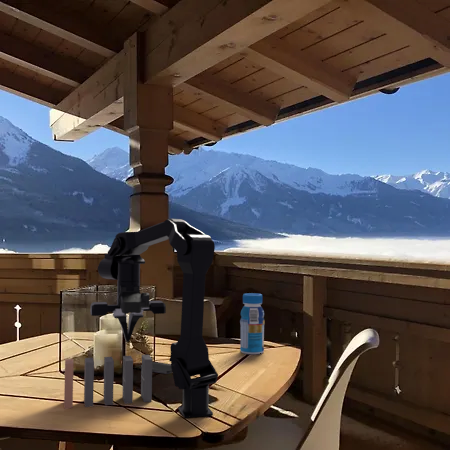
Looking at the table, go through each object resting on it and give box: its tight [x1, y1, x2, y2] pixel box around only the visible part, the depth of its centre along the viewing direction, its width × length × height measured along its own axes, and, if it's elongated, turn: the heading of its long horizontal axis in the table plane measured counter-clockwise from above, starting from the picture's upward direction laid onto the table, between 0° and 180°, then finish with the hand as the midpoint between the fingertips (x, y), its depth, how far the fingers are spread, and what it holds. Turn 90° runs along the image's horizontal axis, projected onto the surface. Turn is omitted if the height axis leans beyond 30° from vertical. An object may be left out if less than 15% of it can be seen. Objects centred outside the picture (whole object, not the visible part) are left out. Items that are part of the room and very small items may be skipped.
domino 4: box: [122, 355, 134, 405], centre depth 123 cm, size 2×5×10 cm, turn 18°
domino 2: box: [83, 357, 95, 408], centre depth 120 cm, size 2×5×10 cm, turn 18°
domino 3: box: [103, 356, 115, 406], centre depth 122 cm, size 2×5×10 cm, turn 17°
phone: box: [139, 360, 173, 375], centre depth 154 cm, size 8×1×15 cm
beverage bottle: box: [239, 292, 266, 355], centre depth 178 cm, size 8×8×20 cm
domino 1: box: [63, 358, 74, 410], centre depth 119 cm, size 2×5×10 cm, turn 17°
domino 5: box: [140, 354, 153, 403], centre depth 124 cm, size 2×5×10 cm, turn 18°
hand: (127, 341), depth 133 cm, fingers closed
